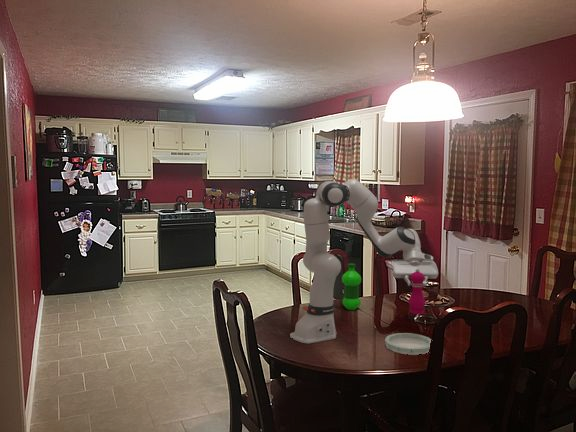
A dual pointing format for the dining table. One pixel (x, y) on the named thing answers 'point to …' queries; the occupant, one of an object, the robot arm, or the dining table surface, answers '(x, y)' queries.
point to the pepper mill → (417, 293)
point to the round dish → (408, 343)
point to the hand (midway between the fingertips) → (417, 285)
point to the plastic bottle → (351, 288)
